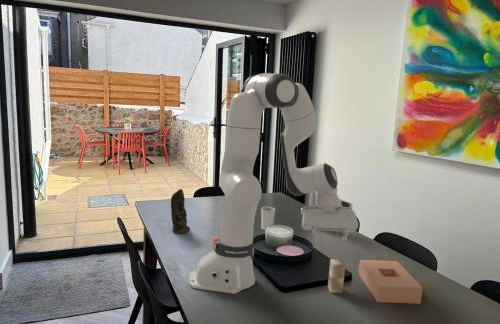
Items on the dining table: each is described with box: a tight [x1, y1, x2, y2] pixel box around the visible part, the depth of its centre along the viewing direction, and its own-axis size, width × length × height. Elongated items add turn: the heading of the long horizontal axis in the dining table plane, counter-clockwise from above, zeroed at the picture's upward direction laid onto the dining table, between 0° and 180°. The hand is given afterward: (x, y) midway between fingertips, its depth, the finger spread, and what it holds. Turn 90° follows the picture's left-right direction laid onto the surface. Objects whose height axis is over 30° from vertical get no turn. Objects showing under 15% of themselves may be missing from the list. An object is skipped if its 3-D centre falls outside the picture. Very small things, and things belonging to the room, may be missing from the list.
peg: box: [327, 258, 346, 294], centre depth 127 cm, size 4×4×10 cm
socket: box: [357, 259, 423, 305], centre depth 131 cm, size 14×20×6 cm
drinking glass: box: [260, 206, 276, 231], centre depth 184 cm, size 7×7×10 cm
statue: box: [170, 188, 191, 235], centre depth 173 cm, size 7×7×20 cm
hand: (331, 241), depth 135 cm, fingers open, 8 cm apart
